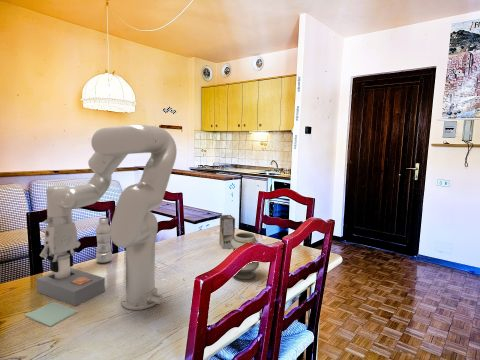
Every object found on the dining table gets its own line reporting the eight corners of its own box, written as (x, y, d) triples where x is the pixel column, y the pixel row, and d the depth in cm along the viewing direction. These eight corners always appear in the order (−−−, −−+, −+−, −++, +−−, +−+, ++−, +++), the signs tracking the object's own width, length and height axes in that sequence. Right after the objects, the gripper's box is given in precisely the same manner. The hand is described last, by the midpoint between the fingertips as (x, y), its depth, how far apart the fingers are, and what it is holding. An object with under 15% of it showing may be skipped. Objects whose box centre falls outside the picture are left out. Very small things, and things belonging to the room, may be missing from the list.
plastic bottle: (106, 265, 135) (105, 220, 132) (92, 263, 136) (91, 219, 134) (115, 260, 141) (114, 217, 138) (102, 258, 142) (101, 216, 140)
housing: (104, 291, 112) (104, 277, 112) (74, 306, 101) (74, 291, 101) (68, 278, 120) (67, 266, 120) (36, 291, 110) (36, 278, 109)
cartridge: (74, 282, 114) (73, 253, 113) (60, 288, 109) (59, 258, 108) (64, 279, 116) (63, 251, 115) (51, 285, 111) (49, 255, 110)
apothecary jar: (224, 272, 132) (226, 232, 130) (249, 268, 137) (251, 229, 135) (237, 284, 121) (239, 240, 119) (263, 279, 127) (265, 237, 124)
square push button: (91, 292, 110) (90, 277, 109) (80, 298, 106) (80, 282, 105) (82, 290, 111) (82, 275, 111) (72, 295, 108) (71, 279, 107)
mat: (77, 312, 98) (77, 311, 98) (50, 327, 90) (50, 325, 90) (53, 302, 103) (53, 301, 103) (24, 316, 95) (24, 314, 95)
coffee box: (234, 248, 163) (235, 218, 161) (222, 249, 161) (223, 219, 159) (229, 242, 171) (230, 214, 170) (218, 243, 170) (219, 215, 168)
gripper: (42, 226, 101) (45, 279, 103) (88, 216, 116) (89, 262, 118) (28, 223, 104) (31, 275, 106) (74, 214, 119) (76, 259, 121)
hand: (62, 268), depth 112 cm, fingers closed on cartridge, 5 cm apart
